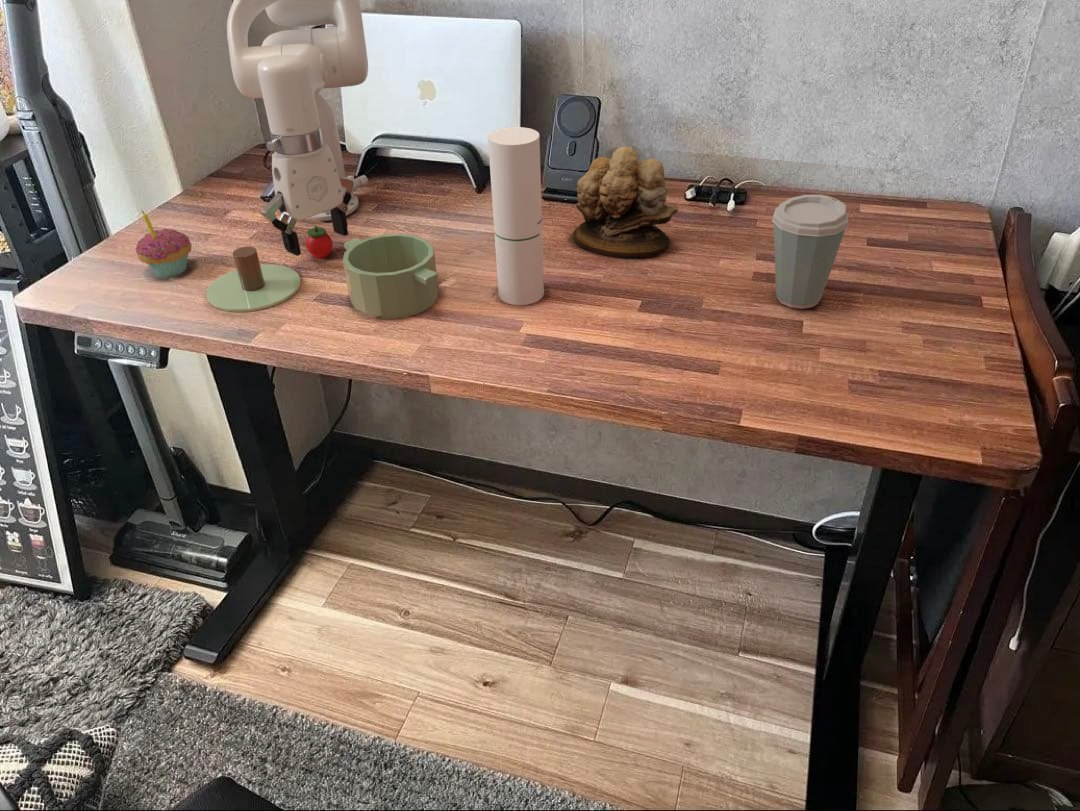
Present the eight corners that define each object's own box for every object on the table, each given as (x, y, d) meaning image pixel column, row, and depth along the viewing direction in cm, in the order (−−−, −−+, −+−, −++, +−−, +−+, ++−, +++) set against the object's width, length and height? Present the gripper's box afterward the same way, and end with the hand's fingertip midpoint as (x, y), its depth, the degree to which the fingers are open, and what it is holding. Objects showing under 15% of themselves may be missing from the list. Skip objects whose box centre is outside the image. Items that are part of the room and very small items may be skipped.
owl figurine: (682, 234, 147) (690, 138, 137) (665, 265, 139) (672, 164, 128) (584, 221, 153) (584, 127, 142) (562, 250, 144) (561, 152, 134)
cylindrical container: (550, 285, 134) (546, 129, 119) (535, 308, 129) (529, 147, 114) (508, 279, 136) (499, 125, 121) (491, 301, 131) (480, 142, 116)
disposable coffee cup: (792, 323, 123) (809, 228, 114) (745, 291, 131) (758, 200, 122) (847, 304, 127) (868, 211, 118) (799, 274, 135) (814, 185, 126)
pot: (388, 263, 142) (382, 221, 138) (468, 298, 132) (464, 254, 127) (322, 294, 134) (313, 252, 130) (402, 335, 124) (396, 290, 119)
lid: (267, 261, 144) (257, 223, 139) (320, 288, 136) (311, 247, 132) (189, 295, 135) (177, 255, 131) (241, 325, 127) (229, 284, 123)
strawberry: (324, 249, 147) (318, 217, 143) (340, 256, 144) (334, 224, 141) (303, 258, 144) (296, 226, 141) (319, 266, 142) (312, 234, 138)
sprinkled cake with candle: (180, 286, 138) (158, 217, 130) (134, 282, 139) (109, 214, 132) (207, 261, 144) (187, 195, 137) (162, 258, 146) (140, 192, 139)
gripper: (264, 161, 124) (288, 267, 134) (356, 131, 135) (372, 231, 145) (235, 151, 129) (261, 255, 138) (327, 123, 139) (345, 221, 149)
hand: (318, 243), depth 141 cm, fingers open, 9 cm apart
